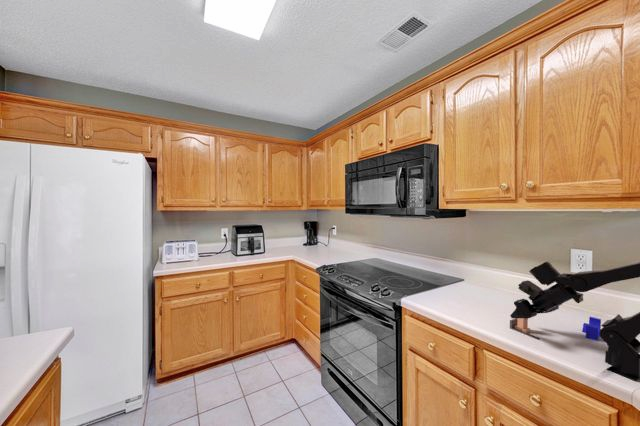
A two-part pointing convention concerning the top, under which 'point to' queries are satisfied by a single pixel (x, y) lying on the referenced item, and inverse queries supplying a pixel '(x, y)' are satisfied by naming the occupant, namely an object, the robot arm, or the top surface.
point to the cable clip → (592, 328)
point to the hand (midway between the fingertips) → (518, 315)
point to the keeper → (522, 325)
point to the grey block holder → (512, 324)
